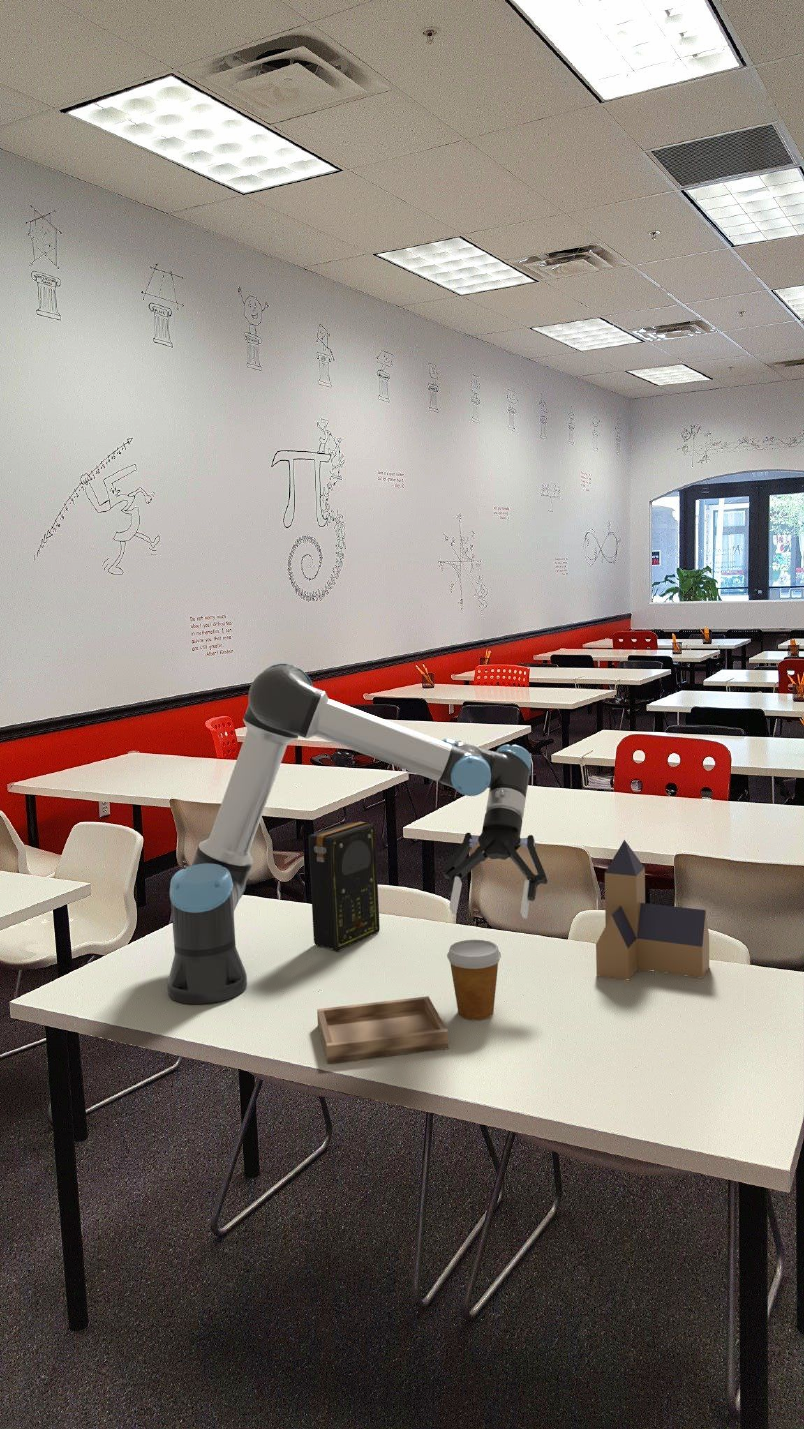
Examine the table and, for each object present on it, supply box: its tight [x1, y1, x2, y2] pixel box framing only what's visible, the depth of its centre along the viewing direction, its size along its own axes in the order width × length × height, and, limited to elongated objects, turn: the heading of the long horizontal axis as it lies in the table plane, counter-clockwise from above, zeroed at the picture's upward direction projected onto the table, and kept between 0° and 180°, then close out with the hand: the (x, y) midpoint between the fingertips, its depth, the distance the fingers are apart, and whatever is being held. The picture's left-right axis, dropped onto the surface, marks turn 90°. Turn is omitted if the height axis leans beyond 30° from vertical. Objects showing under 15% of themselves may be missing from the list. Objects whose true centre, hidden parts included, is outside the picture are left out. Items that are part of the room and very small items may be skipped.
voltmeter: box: [308, 821, 381, 953], centre depth 218 cm, size 16×9×25 cm, turn 143°
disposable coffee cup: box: [446, 939, 502, 1021], centre depth 178 cm, size 10×10×12 cm
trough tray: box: [316, 995, 450, 1065], centre depth 170 cm, size 20×15×3 cm
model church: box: [595, 839, 710, 980], centre depth 193 cm, size 12×19×25 cm, turn 62°
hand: (487, 913), depth 187 cm, fingers open, 13 cm apart
